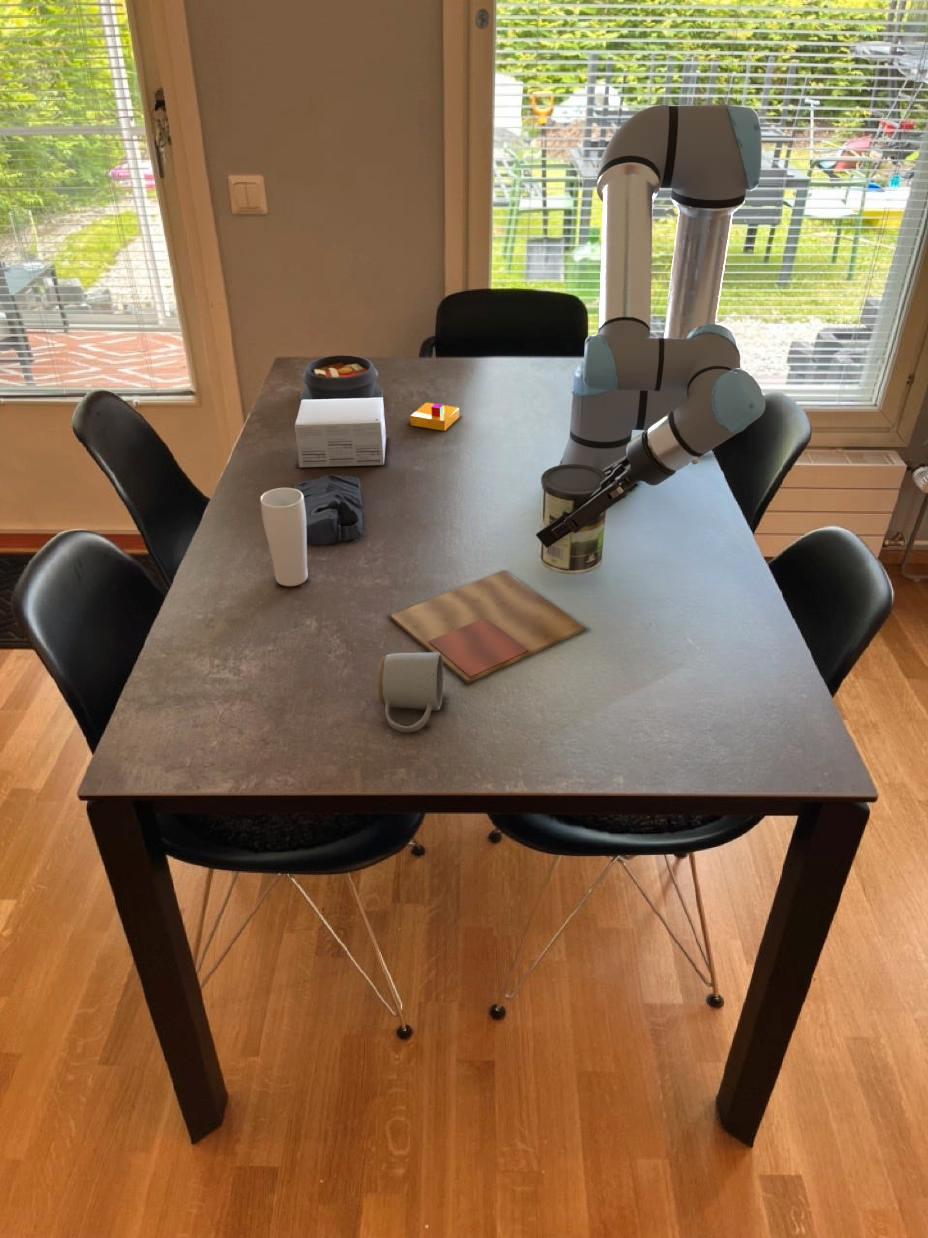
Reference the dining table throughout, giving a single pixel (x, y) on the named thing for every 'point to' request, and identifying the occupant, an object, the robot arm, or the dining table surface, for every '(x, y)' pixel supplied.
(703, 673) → the dining table surface
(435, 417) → the yellow tile with knob
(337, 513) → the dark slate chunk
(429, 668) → the ceramic mug
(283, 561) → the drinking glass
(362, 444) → the supplement box
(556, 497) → the coffee can
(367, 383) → the casserole
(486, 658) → the placemat
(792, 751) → the dining table surface
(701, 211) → the robot arm
